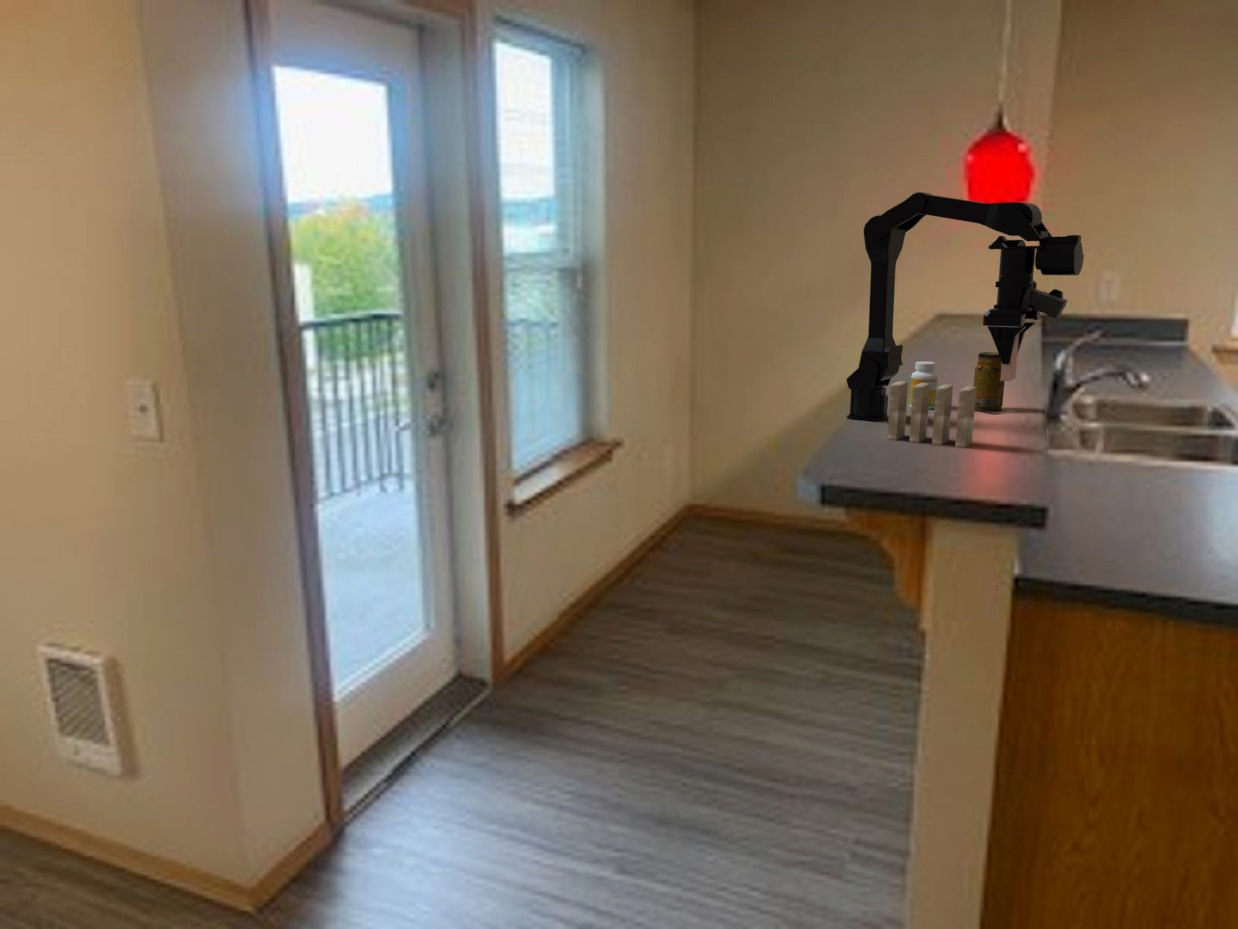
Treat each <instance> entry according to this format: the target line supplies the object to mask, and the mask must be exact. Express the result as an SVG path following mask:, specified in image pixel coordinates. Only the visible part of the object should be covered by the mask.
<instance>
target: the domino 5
mask: <svg viewBox="0 0 1238 929" xmlns="http://www.w3.org/2000/svg"><path fill="white" fill-rule="evenodd" d="M1018 341H1019V334H1018V335H1017V337H1016V341H1015V345H1014V349H1013V352H1012V356H1011V360H1010V363H1009V364H1008V365H1005V364H1002V365H1001V378H1000V381H1005V382H1010V381H1013V380H1014V379H1016V376H1017V375H1016V374H1017V362H1018V355H1017V353H1018V354H1019V352H1018Z"/></svg>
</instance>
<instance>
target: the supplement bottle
mask: <svg viewBox="0 0 1238 929" xmlns="http://www.w3.org/2000/svg"><path fill="white" fill-rule="evenodd" d="M914 369H915V371H914V372H912V373H911V377H910V392H909V402H908V403H909V404H908V405H909V408H912V395H913V386H915V385H918V384H920V383H930V394H929V408H928V410H932V409H935V396H936V388H938V373H936V372H934V370H935V369H936V363H935V362H934V361H927V360H926V361H924V360H923V361H916V362H915V366H914Z"/></svg>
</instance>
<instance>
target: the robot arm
mask: <svg viewBox="0 0 1238 929" xmlns="http://www.w3.org/2000/svg"><path fill="white" fill-rule="evenodd" d="M926 216H931V217H939V218H944V219H951V220H957V221H961V222H967V223H975V224H979V225H981V226H984V227H987V228H989V229H991V230H993V231H996V232H998V233H1001V234H1004V235H1007V236H1010V237H1020V238H1021V239H1007V238H1006V236H1004V235H998V236H997V238H996V239H995V240H994V241H993V242H992V243H990V245H988V250H1000V254H999V255H1000V257H999V270H998V280H997V281H995V286H994V287H995V288H997V293H996V294H997V295H996V304H994V305H993V308H990V309H988V310H987V311H986V312H985V313H984V314H983V320H982V326H986V327H987V329H988V330H989V333H990V335H991V338H992V340H993V343H994V345H995V347H996V351H997V353H999V356H1000V358H1001V361H1002V364H1005V365H1008V364H1009V363H1010V360H1011V356H1012V352H1013V349H1014V345H1015V341H1016V337H1017V335H1018V334H1019V341H1018V353H1017V356H1018V354H1019V352H1020V349H1021V346H1022V342H1023V339H1024V337H1025V335H1026V332H1027V331H1029V329H1030V328H1032V327H1033V326H1035V324H1036V321H1039V320H1041V313H1042V314H1045V315H1047V317H1049V318H1052V319H1058V318H1061V315H1062V313H1063V311H1064V309H1065V308H1066V306H1067V303H1068V299H1066V298H1064V291H1062V290H1059V289H1057V288H1053V289H1052V290H1051V291H1050V292H1047V291H1043V290H1040V289H1038V282H1036V280H1034V272H1035V269H1036V270H1037V271H1038V270H1039V271H1040V273H1041V275H1042V276H1079V275H1080V273H1081V271H1082V268H1083V265H1084V264H1083V263H1084V257H1085V254H1084V253H1083V252H1084V250H1083V244H1082V235H1081V234H1069V235H1065V236H1061V235H1060V236H1053V235H1052V234H1051V233H1050V231H1049V230H1048V228H1047V227H1046V225H1045V224H1044V222H1043V221H1042V220H1043V215H1042V212H1041V210H1040V208H1039V206H1038V205H1036V204H1035V203H1031V202H1023V201H1022V202H1020V201H1014V202H1013V201H1011V202H1010V201H1009V202H1008V201H1006V202H981V201H974V200H966V199H961V198H955V197H949V196H941V195H934V194H932V193H929V192H921V191H918V192H917V191H916V192H914V193H913V194H911V195H909V197H907V198H905V200H903V201H901V202H900V203H898V204H897V205H894V206H892V207H891V208H889V209H888V210H886V211H884V212H883V213H882V214H881V215H879V214H878V215H874V216H872V217H870V219H868V221H867V222H866V223H865V224H864V226H863V240H864V247H865V248H864V249H865V252H866V254H867V256H868V260H869V262H870V286H869V287H870V288H869V307H868V309H869V311H868V332H867V333H868V335H867V338H866V341H865V343H864V345H863V348H862V350H861V354H860V358H859V362H858V367H857V369H855V370H854V371H853V372H852V373H851V374H850V375H849V376H848V377H847V378H846V384H847V387H848V389H849V390H850V403H849V404H850V406H849V414H847V415H846V418H847V419H854V418H855V420H865V421H874V422H875V421H876V422H877V421H880V420H882V419H884V418H886V417H887V416H888V409H889V408H888V406H889V405H888V404H889V395H888V394H887V386H889V384H890V382H891V380H892V378H894V377H895V376H896V375H897V374H898V373H899V371H900V367H901V366H903V365H904V363H903V361H902V355H903V350H904V348H903V346H904V345H903V344H898V345H897V344H896V341H895V338H894V334H893V333H894V310H895V290H896V289H895V286H896V283H895V282H896V269H897V268H896V266H897V261H898V259H899V256H900V254H901V252H902V250H903V247H904V242H905V236H906V234H907V233H908V232H909V231H910V230H912V229H913V228H915V226H917V225H918V223H920V221H922V220H923V219H924V217H926ZM1026 242H1038V243H1039V244H1038V245H1026ZM1028 320H1033V321H1028Z"/></svg>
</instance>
